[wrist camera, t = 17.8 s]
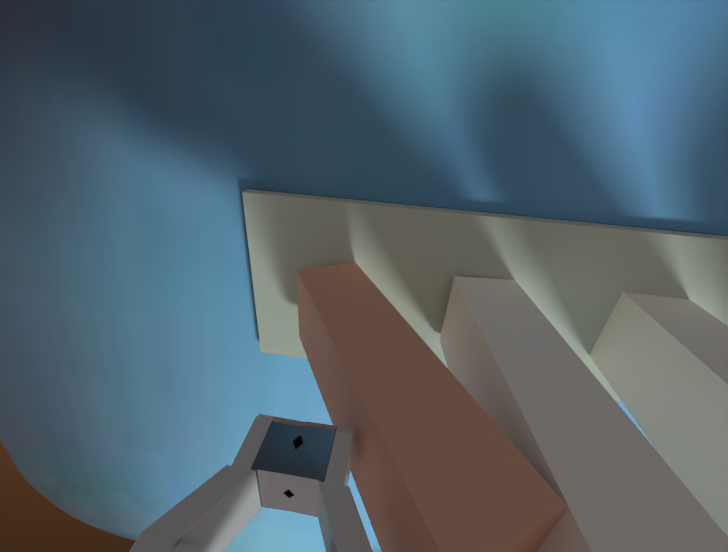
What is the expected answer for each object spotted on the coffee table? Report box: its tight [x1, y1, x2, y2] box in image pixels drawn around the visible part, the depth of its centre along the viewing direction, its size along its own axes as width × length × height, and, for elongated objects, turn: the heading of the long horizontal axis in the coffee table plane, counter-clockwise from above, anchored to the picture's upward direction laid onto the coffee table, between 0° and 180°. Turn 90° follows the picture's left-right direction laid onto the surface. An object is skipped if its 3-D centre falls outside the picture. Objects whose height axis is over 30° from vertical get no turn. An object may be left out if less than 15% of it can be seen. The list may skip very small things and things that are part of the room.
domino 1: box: [296, 262, 568, 552], centre depth 12 cm, size 3×4×12 cm
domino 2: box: [440, 276, 728, 552], centre depth 11 cm, size 3×4×12 cm
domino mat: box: [242, 189, 728, 402], centre depth 16 cm, size 40×10×1 cm, turn 86°
